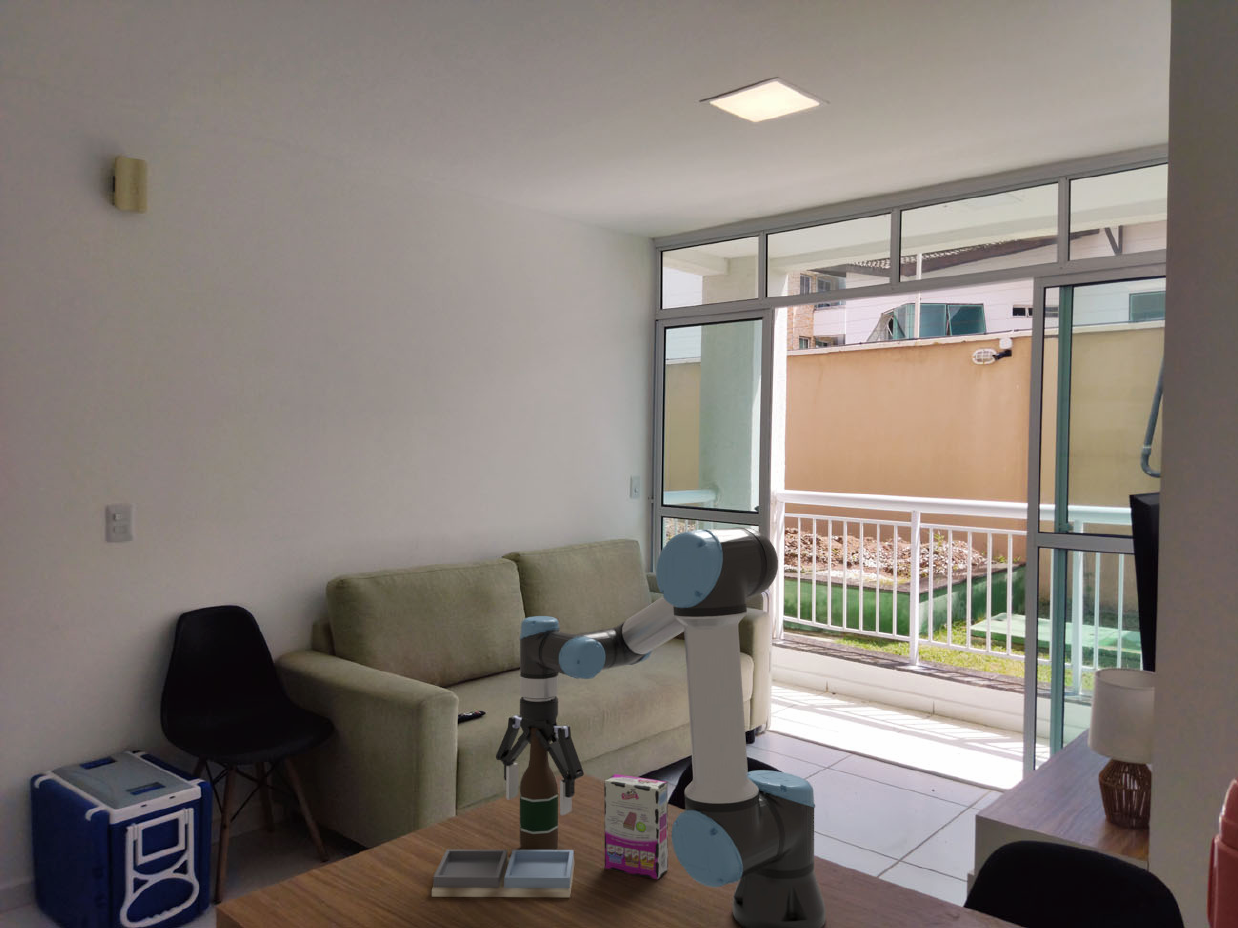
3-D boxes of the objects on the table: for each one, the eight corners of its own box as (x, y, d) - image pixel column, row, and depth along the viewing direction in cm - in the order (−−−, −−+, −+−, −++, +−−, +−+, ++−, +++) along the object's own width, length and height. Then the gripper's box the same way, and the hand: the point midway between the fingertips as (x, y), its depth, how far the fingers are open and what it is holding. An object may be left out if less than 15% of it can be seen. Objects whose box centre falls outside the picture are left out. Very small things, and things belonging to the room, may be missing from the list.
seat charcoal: (507, 859, 166) (507, 849, 166) (498, 887, 154) (498, 877, 154) (446, 858, 166) (446, 849, 166) (433, 887, 154) (433, 876, 154)
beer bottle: (552, 859, 168) (552, 732, 169) (513, 855, 170) (513, 730, 170) (563, 842, 176) (563, 721, 176) (525, 839, 178) (525, 719, 178)
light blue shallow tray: (573, 859, 166) (573, 849, 166) (569, 887, 154) (569, 877, 154) (512, 859, 166) (512, 849, 166) (504, 887, 154) (504, 877, 154)
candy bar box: (669, 869, 164) (669, 780, 164) (658, 880, 160) (658, 789, 160) (615, 857, 169) (615, 771, 169) (603, 868, 164) (603, 780, 165)
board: (574, 863, 166) (574, 857, 166) (569, 897, 153) (569, 890, 153) (446, 863, 166) (446, 856, 166) (431, 896, 153) (431, 889, 153)
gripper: (602, 702, 169) (601, 813, 169) (504, 683, 183) (503, 785, 183) (578, 710, 163) (577, 826, 163) (478, 690, 177) (478, 796, 177)
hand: (538, 805), depth 173 cm, fingers open, 13 cm apart
